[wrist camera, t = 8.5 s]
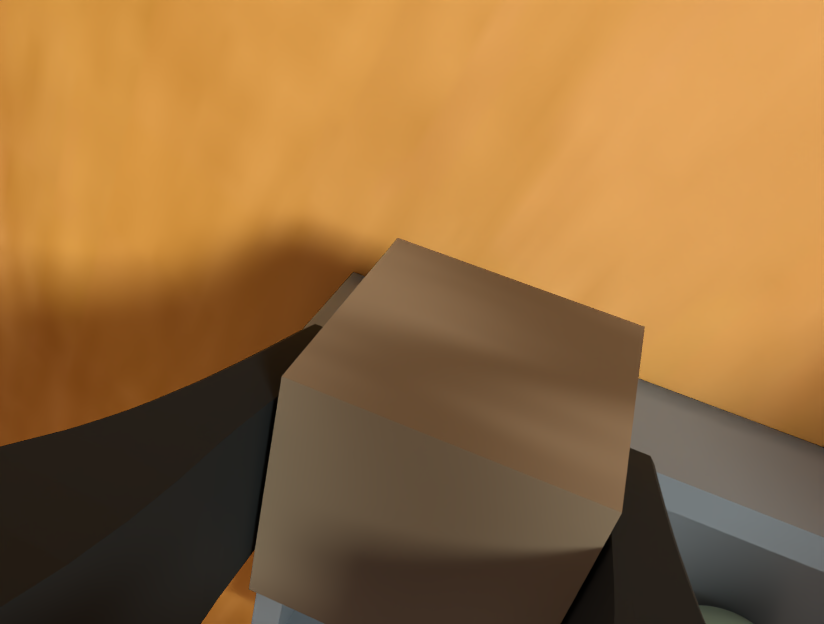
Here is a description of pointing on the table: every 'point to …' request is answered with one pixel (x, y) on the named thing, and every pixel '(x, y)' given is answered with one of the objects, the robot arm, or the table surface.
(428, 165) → the table surface
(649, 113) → the table surface
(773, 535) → the serving tray
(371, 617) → the walnut cube
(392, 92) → the table surface
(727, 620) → the green ball
